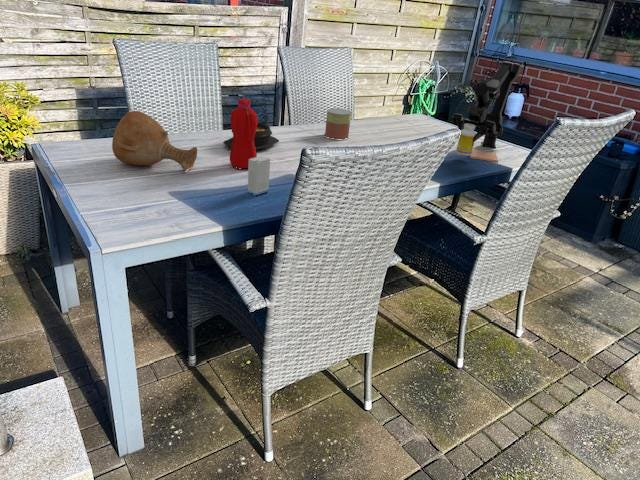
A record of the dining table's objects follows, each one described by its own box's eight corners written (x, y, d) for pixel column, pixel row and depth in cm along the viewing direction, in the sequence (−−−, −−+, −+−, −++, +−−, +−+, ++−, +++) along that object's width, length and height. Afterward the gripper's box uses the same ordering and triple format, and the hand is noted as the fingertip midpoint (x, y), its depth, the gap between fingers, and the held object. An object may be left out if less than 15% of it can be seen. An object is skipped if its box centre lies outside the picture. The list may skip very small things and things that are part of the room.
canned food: (352, 137, 238) (355, 111, 232) (340, 141, 229) (343, 115, 224) (332, 132, 243) (335, 107, 237) (320, 136, 234) (322, 110, 229)
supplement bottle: (471, 157, 216) (478, 127, 210) (456, 154, 217) (462, 125, 211) (470, 152, 222) (477, 124, 215) (455, 150, 222) (461, 121, 216)
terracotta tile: (469, 150, 235) (469, 148, 234) (495, 154, 233) (495, 152, 232) (470, 158, 224) (470, 156, 224) (497, 162, 222) (498, 160, 222)
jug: (133, 119, 190) (208, 139, 188) (117, 166, 187) (193, 186, 186) (111, 96, 170) (194, 117, 169) (92, 147, 167) (177, 170, 166)
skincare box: (260, 188, 171) (261, 154, 166) (269, 192, 169) (270, 158, 163) (246, 193, 167) (247, 158, 161) (256, 197, 164) (257, 162, 159)
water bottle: (237, 172, 183) (237, 103, 171) (227, 162, 191) (227, 96, 180) (260, 170, 187) (263, 103, 175) (250, 161, 195) (251, 96, 184)
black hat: (241, 156, 199) (241, 136, 195) (214, 144, 210) (214, 124, 206) (288, 147, 215) (289, 128, 211) (260, 136, 226) (261, 117, 222)
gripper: (458, 94, 216) (442, 124, 213) (500, 103, 206) (484, 134, 203) (461, 109, 225) (446, 138, 222) (501, 118, 216) (487, 148, 213)
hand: (465, 139), depth 215 cm, fingers closed on supplement bottle, 7 cm apart
